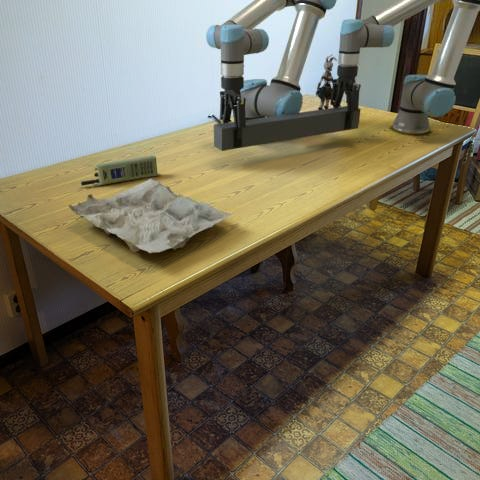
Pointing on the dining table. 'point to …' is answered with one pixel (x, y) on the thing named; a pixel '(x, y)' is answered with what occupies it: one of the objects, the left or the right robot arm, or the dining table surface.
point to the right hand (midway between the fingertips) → (341, 126)
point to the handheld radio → (124, 170)
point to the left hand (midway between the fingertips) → (232, 144)
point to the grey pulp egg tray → (149, 216)
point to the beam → (284, 127)
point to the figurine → (326, 88)
